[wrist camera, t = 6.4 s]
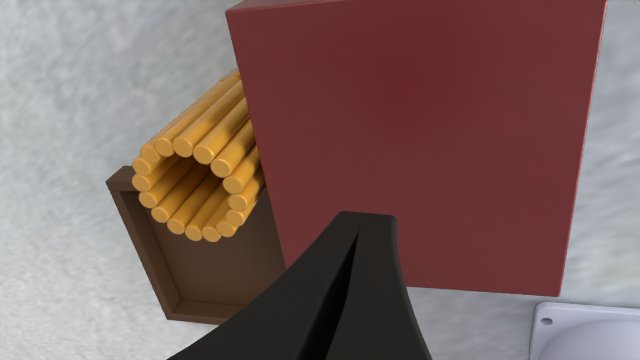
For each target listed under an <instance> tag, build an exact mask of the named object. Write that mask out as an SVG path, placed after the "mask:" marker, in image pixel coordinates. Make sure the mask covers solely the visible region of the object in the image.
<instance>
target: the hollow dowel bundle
mask: <svg viewBox="0 0 640 360" xmlns="http://www.w3.org/2000/svg"><path fill="white" fill-rule="evenodd" d="M133 169H134V170H135V172H136V174H135V175H134V176H133V178H132V184H133V186H134V187H135V188H136V189H137V190H139V191H141V193H140V194H139V201H140V202H141V204H142V205H143V206H145V207H147V208H152V211H151V214H152V217H153V218H154V219H155V220H156V221H158V222H160V223H165V222H167V221H168V222H167V227H168V229H169V230H170V231H171V232H173V233H175V234H182V233H184V232H185V234H186V236H187V237H188V238H189V239H191V240H193V241H199V240H201V239H202V238H203V237H204V238H205V239H206V240H208V241H210V242H217V241H218V240H219V239H220V238H221V236H224V237H231V236H233V235H234V234H235V232H236V231H237V229H238V227H239V226H241V225H243V224H244V223H245V221H246V219H247V218H248V216H249V215H250V213H251V211H252V210H253V208H254V207H255V205H256V203H257V202H258V200H259V199H260V197H261V195H262V194H263V192H264V191H265V189H266V187H267V186H266V181H265V177H264V173H263V169H262V165H261V160H260V156H259V152H258V148H257V144H256V140H255V135H254V131H253V127H252V123H251V119H250V115H249V110H248V106H247V102H246V98H245V94H244V90H243V85H242V81H241V77H240V73H239V69H238V68H236V69H234V70H232V71H231V72H230V73H229V74H227V75H226V76H225V77H224V78H223V79H221V80H220V81H219V82H218V83H217V84H215V85H214V86H213V87H212V88H211V89H210V90H208V91H207V92H206V93H205V94H204V95H202V96H201V97H200V98H199V99H198V100H197V101H195V102H194V103H193V104H192V105H191V106H189V107H188V108H187V109H186V110H185V111H183V112H182V113H181V114H180V115H179V116H178V117H176V118H175V119H174V120H173V121H172V122H170V123H169V124H168V125H167V126H166V127H164V128H163V129H162V130H161V131H160V132H159V133H157V134H156V135H155V136H154V137H153V138H151V139H150V140H149V141H148V142H147V143H145V144H144V145H143V146H142V147H141V150H140V155H139V156H138V157H137V158H135V159H134V161H133Z"/></svg>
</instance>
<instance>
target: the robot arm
mask: <svg viewBox="0 0 640 360" xmlns="http://www.w3.org/2000/svg"><path fill="white" fill-rule="evenodd" d="M397 241H398V219H397V218H396V217H395V216H394V215H385V214H374V213H363V212H351V211H340V212H339V213H338V214H337V215H336V216H335V217H334V218H333V220H332V221H331V222H330V223H329V224H328V226H327V227H326V228H325V229H324V230H323V231H322V233H321V234H320V235H319V236H318V237H317V238H316V239H315V241H314V242H313V243H312V244H311V245H310V246H309V247H308V248H307V249H306V250H305V251H304V252H303V253H302V254H301V255H300V256H299V258H298V259H297V260H296V261H295V262H294V263H293V264H292V265H291V266H290V267H289V268H288V269H287V270H286V271H285V272H283V273H282V274H281V275H280V276H279V277H278V278H277V279H276V280H275V281H274V282H273V283H272V284H271V285H270V286H268V287H267V288H266V289H265V290H264V291H263V292H262V293H261V294H259V295H258V296H257V297H256V298H255V299H253V300H252V301H251V302H250V303H249V304H247V305H246V306H245V307H244V308H242V309H241V310H240V311H238V312H237V313H236V314H235V315H233V316H232V317H231V318H229V319H228V320H227V321H225V322H224V323H222V324H221V325H219V326H218V327H217V328H215V329H214V330H212V331H211V332H209V333H208V334H206V335H205V336H203V337H202V338H200V339H199V340H197V341H196V342H194V343H193V344H191V345H190V346H188V347H187V348H185V349H183V350H182V351H180V352H178V353H177V354H175V355H173V356H172V357H170V358H168V359H166V360H432V357H431V355H430V353H429V351H428V348H427V346H426V343H425V341H424V338H423V336H422V334H421V331H420V328H419V326H418V323H417V320H416V317H415V315H414V312H413V309H412V305H411V302H410V299H409V296H408V293H407V289H406V286H405V282H404V278H403V273H402V269H401V265H400V260H399V254H398V247H397ZM543 318H549V319H543ZM529 360H640V309H636V308H622V307H608V306H595V305H581V304H568V303H554V302H542V303H539V304H538V305H537V306H536V308H535V315H534V323H533V330H532V338H531V346H530V354H529Z"/></svg>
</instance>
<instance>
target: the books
mask: <svg viewBox="0 0 640 360" xmlns="http://www.w3.org/2000/svg"><path fill="white" fill-rule="evenodd" d="M607 3H608V0H244V1H242V2H240V3H239V4H237V5H235V6H233V7H232V8H230V9H228V10H226V12H225V14H226V19H227V23H228V27H229V31H230V35H231V39H232V44H233V48H234V52H235V56H236V60H237V65H238V69H239V73H240V77H241V81H242V85H243V90H244V94H245V98H246V102H247V106H248V110H249V115H250V119H251V123H252V127H253V131H254V135H255V140H256V144H257V148H258V152H259V156H260V160H261V165H262V169H263V173H264V177H265V181H266V186H267V190H268V194H269V198H270V202H271V206H272V211H273V215H274V219H275V223H276V227H277V231H278V236H279V240H280V244H281V248H282V252H283V256H284V261H285V265H286V269H288V268H289V267H290V266H291V265H292V264H293V263H294V262H295V261H296V260H297V259H298V258H299V256H300V255H301V254H302V253H303V252H304V251H305V250H306V249H307V248H308V247H309V246H310V245H311V244H312V243H313V242H314V241H315V239H316V238H317V237H318V236H319V235H320V234H321V233H322V231H323V230H324V229H325V228H326V227H327V226H328V224H329V223H330V222H331V221H332V220H333V218H334V217H335V216H336V215H337V214H338V213H339V212H340V211H351V212H363V213H374V214H385V215H394V216H395V217H396V218H397V219H398V241H397V247H398V254H399V260H400V265H401V269H402V273H403V278H404V282H405V286H408V287H423V288H437V289H451V290H465V291H480V292H494V293H508V294H522V295H537V296H551V297H559V296H560V292H561V285H562V279H563V273H564V267H565V261H566V255H567V249H568V242H569V236H570V230H571V224H572V218H573V212H574V206H575V199H576V193H577V187H578V181H579V175H580V169H581V163H582V156H583V150H584V144H585V138H586V132H587V126H588V120H589V113H590V107H591V101H592V95H593V89H594V83H595V77H596V70H597V64H598V58H599V52H600V46H601V40H602V34H603V27H604V21H605V15H606V9H607Z"/></svg>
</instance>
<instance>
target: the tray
mask: <svg viewBox="0 0 640 360" xmlns="http://www.w3.org/2000/svg"><path fill="white" fill-rule="evenodd" d="M135 174H136V172H135V170H134V169H133V166H123V167H122V168H120V169H119V170H118V171H117V172H116V173H115V174H113V175H112V176H111V177H110V178H109V179H108V180H106V184H107V186H108V189H109V191H110V193H111V195H112V197H113V200H114V202H115V204H116V206H117V209H118V211H119V213H120V215H121V218H122V220H123V222H124V224H125V227H126V229H127V231H128V233H129V236H130V238H131V240H132V242H133V244H134V247H135V249H136V251H137V253H138V256H139V258H140V260H141V262H142V265H143V267H144V269H145V271H146V274H147V276H148V278H149V280H150V283H151V285H152V287H153V289H154V292H155V294H156V296H157V298H158V301H159V303H160V305H161V307H162V310H163V312H164V314H165V316H166V318H167V320H176V321H185V322H195V323H204V324H214V325H221V324H222V323H224V322H225V321H227V320H228V319H229V318H231V317H232V316H233V315H235V314H236V313H237V312H238V311H240V310H241V309H242V308H244V307H245V306H246V305H247V304H249V303H250V302H251V301H252V300H253V299H255V298H256V297H257V296H258V295H259V294H261V293H262V292H263V291H264V290H265V289H266V288H267V287H268V286H270V285H271V284H272V283H273V282H274V281H275V280H276V279H277V278H278V277H279V276H280V275H281V274H282V273H283V272H285V271H286V270H287V269H286V265H285V261H284V256H283V252H282V248H281V244H280V240H279V236H278V231H277V227H276V223H275V219H274V215H273V211H272V206H271V202H270V198H269V194H268V190H267V187H266V189H265V191H264V192H263V194H262V195H261V197H260V199H259V200H258V202H257V203H256V205H255V207H254V208H253V210H252V211H251V213H250V215H249V216H248V218H247V219H246V221H245V223H244V224H243V225H241V226H239V227H238V229H237V231H236V232H235V234H234V235H233V236H231V237H224V236H221V238H220V239H219V240H218V241H217V242H210V241H208V240H206V239H205V238H204V237H203V238H202V239H201V240H199V241H193V240H191V239H189V238H188V237H187V236H186V234H185V232H184V233H182V234H175V233H173V232H171V231H170V230H169V229H168V227H167V222H168V221H167V222H165V223H160V222H158V221H156V220H155V219H154V218H153V217H152V214H151V211H152V208H147V207H145V206H143V205H142V204H141V202H140V201H139V194H140V193H141V191H139V190H137V189H136V188H135V187H134V186H133V184H132V178H133V176H134V175H135Z"/></svg>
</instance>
